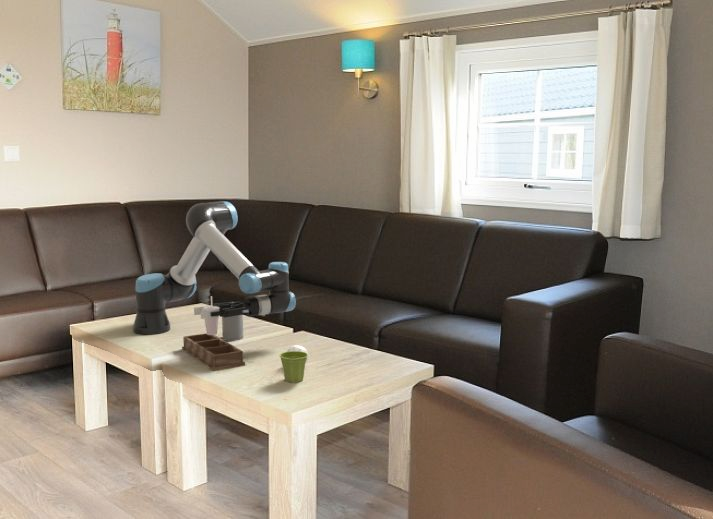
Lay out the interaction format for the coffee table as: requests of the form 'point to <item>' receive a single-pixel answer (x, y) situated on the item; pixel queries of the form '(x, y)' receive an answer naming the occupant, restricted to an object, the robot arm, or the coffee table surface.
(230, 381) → the coffee table surface
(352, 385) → the coffee table surface
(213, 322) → the smoothie
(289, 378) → the plant pot
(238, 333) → the cup
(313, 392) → the coffee table surface
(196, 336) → the caddy
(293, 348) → the geometric ball
